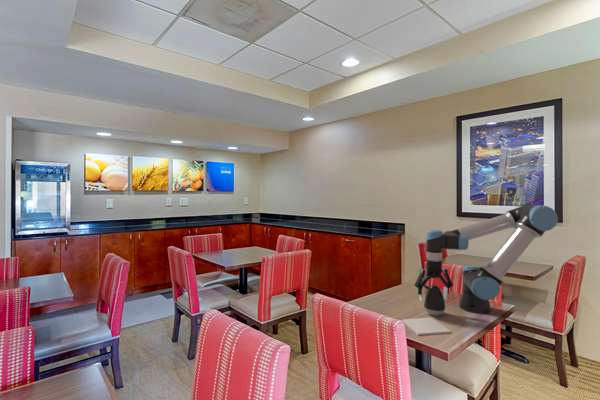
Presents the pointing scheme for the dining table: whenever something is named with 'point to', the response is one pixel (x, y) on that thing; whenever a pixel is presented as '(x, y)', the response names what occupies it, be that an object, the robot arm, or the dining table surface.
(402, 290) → the dining table surface
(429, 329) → the ceramic tile
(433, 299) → the pump dispenser
